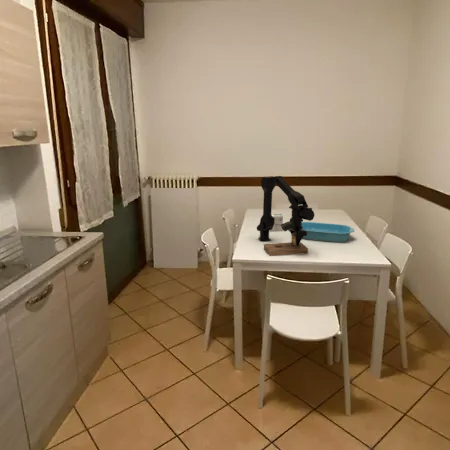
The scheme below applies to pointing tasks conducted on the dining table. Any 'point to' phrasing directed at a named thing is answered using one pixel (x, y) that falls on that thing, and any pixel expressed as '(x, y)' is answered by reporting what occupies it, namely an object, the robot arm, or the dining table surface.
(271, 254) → the walnut board
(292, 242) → the oak peg
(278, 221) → the light bulb box
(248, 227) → the dining table surface
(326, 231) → the casserole dish
